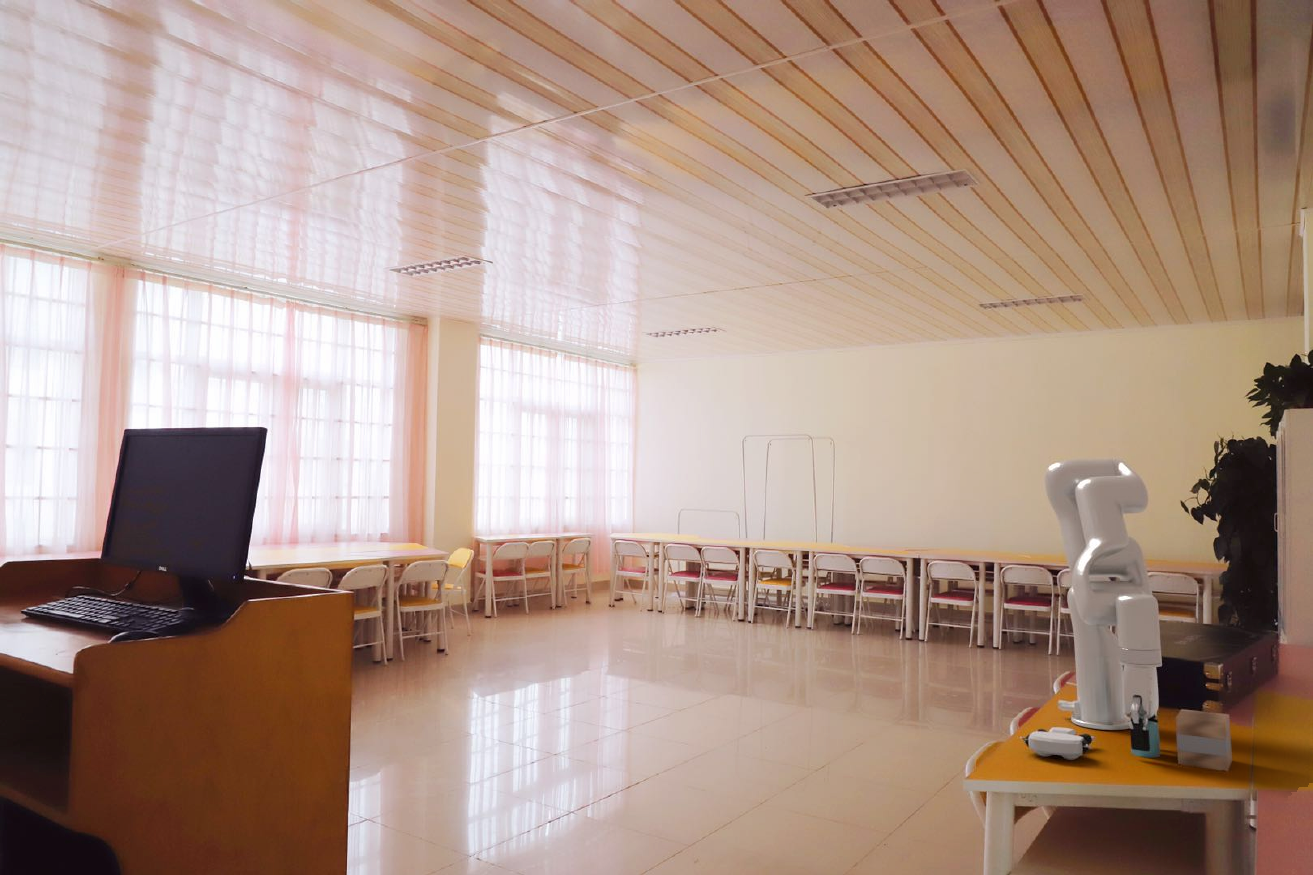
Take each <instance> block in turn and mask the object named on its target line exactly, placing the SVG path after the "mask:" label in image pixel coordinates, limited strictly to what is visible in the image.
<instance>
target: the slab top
mask: <svg viewBox="0 0 1313 875" xmlns="http://www.w3.org/2000/svg"><path fill="white" fill-rule="evenodd" d="M1230 722H1231V721H1230V714H1227V713H1221V712H1220V713H1219V712H1208V711H1199V710H1190V709H1183V708H1182V709H1180V711H1179V712H1178V713H1177V715H1176V716H1175V726H1176V729H1175V730H1176V734H1183V735H1191V736H1199V737H1207V738H1216V739H1224V740H1226V739H1227V737H1228V734H1229V732H1230V733H1231V724H1230Z"/></svg>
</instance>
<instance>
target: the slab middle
mask: <svg viewBox="0 0 1313 875" xmlns="http://www.w3.org/2000/svg"><path fill="white" fill-rule="evenodd" d="M1231 740H1232V739H1231V731H1230V732H1229V734H1228V737H1227V739H1226V740H1224V739H1216V738H1207V737H1199V736H1191V735H1183V734H1177V733H1176V748H1177V750H1181V751H1188V752H1196V753H1204V754H1211V755H1219V756H1226V757H1227V755H1228V753H1229V750H1230V748H1231V749H1232V744H1231V743H1232V742H1231Z"/></svg>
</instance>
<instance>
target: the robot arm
mask: <svg viewBox="0 0 1313 875" xmlns="http://www.w3.org/2000/svg"><path fill="white" fill-rule="evenodd" d="M1044 485H1045V491H1046V492H1045V493H1046V496H1047V499H1048V502H1049V503H1050V506H1051V508H1052V510H1053V512H1054V513H1055V515H1056V518H1057V520H1058V522H1059V527H1060V532H1061V533H1060V534H1061V536H1062V542H1063V547H1064V554H1065V557H1066V562H1067V565H1068V568H1069V570H1070V572H1071V573H1072V577H1071V578H1072V579H1071V581H1072V582H1071V585H1072V586H1071V587H1070V588H1069V590H1068V591H1067V596H1066V598H1067V606H1068V611H1069V613H1070V614H1069V616H1070V619H1071V624H1072V631H1073V641H1074V645H1073V646H1074V662H1075V678H1076V695H1077V699H1076V700H1073V701H1068V700H1061V699H1058V702H1057V707H1058V709H1059V710H1061V711H1064V712H1065V711H1067V712H1068V711H1069V712H1072V714H1071V716H1070V720H1071V722H1072V723H1073V724H1075V725H1078V726H1080V727H1083V728H1089V729H1094V730H1102V731H1103V730H1104V731H1121V730H1128V729H1129V733H1130V734H1129V736H1130V749H1131V748H1132V749H1133V750H1140V751H1150V739H1149V730H1147V722H1148V721H1153V722H1156V723H1158V724H1159V720H1158V710H1159V702H1160V701H1159V687H1158V686H1159V684H1158V672H1157V668H1158V667H1162V666H1163V663H1162V660H1163V659H1162V646H1161V632H1160V631H1161V630H1160V617H1159V603H1158V600H1157V598H1156V597H1155V596H1154V595H1153V590H1152V586H1151V581H1150V577H1149V574H1148V569H1147V565H1146V564H1147V563H1146V560H1145V556H1144V552H1143V550H1142V548H1141V545H1140V544H1139V543H1138V541H1137V540H1136V539H1135V538H1134V537H1132V536H1130V535H1128V531H1127V526H1126V523H1125V519H1124V514H1141V513H1143V512H1145V510H1147V507H1148V504H1149V493H1148V489H1147V487H1146V484H1145V483H1144V481H1143V479H1142V478H1141V476H1139V474H1138V473H1137V472H1136V470H1134V469H1133V468H1132V467H1131V466H1130V465H1128V464H1127V463H1126V462H1125V461H1123V460H1122V459H1117V458H1095V459H1094V458H1090V459H1088V458H1087V459H1086V458H1085V459H1067V460H1060V461H1056V462H1054V463H1052V464H1050V465H1049V466H1048V467H1047V469H1046V471H1045V476H1044ZM1090 578H1118V579H1119V580H1090ZM1109 627H1116V629H1117V636H1116V634H1114V632H1113V631H1112V630H1111V629H1110V628H1109ZM1129 716H1130V717H1129Z"/></svg>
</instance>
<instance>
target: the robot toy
mask: <svg viewBox="0 0 1313 875" xmlns="http://www.w3.org/2000/svg"><path fill="white" fill-rule="evenodd" d="M1019 739H1020V740H1023V742H1024V743H1025V745H1026V746H1027V748H1029V750H1030V751H1033V752H1035V753H1036V754H1037V755H1039V756H1040V757H1044V758H1046V757H1047V758H1048V757H1051V756H1053V755H1055V756H1056V755H1057V756H1061V757H1063V758H1064V759H1065V760H1069V761H1073V760H1076V759H1078V758H1079V757H1081V756H1083V754H1086V753H1087V752H1088V751H1089V750H1091V749H1092V746H1091V745H1090V744H1092V742H1094V741H1096V737H1095V736H1092V735H1091V734H1088V733H1083V734H1078V735H1077V731H1075V730H1074V729H1073V728H1068V727H1057V726H1055V727H1054V726H1052V727H1051V728H1050V729H1049V731H1048V730H1046V729H1044V728H1038V729H1037V730H1036V731H1033V732H1031V733H1029V734H1027V736H1025V737H1023V736H1020V737H1019Z"/></svg>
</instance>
